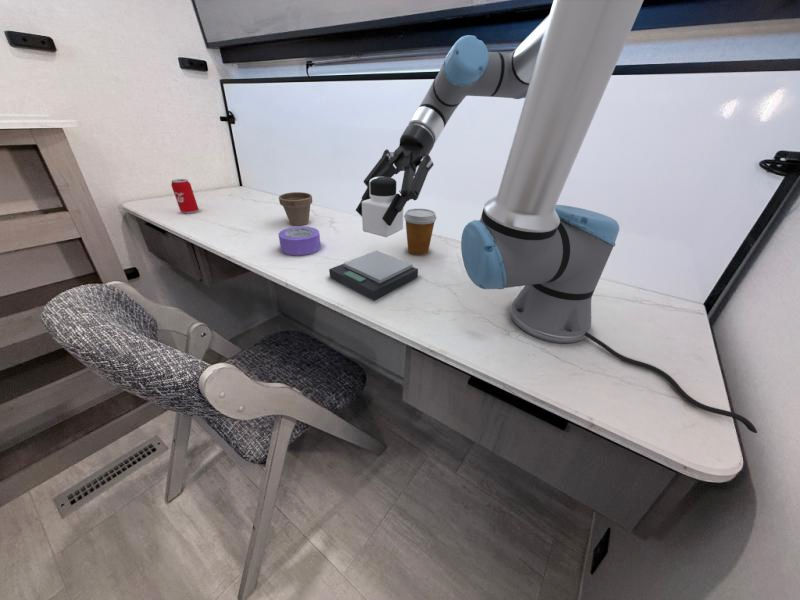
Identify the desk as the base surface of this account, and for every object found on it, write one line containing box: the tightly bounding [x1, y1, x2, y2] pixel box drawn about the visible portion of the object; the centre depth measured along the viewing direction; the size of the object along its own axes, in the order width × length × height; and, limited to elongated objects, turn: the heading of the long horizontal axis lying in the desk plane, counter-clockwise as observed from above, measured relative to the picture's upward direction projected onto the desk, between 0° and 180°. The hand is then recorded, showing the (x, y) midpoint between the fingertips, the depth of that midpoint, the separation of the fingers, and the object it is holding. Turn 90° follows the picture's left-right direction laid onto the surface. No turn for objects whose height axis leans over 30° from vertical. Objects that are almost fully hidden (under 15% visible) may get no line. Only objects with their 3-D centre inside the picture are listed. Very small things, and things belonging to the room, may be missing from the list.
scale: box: [328, 250, 419, 302], centre depth 78 cm, size 16×16×4 cm
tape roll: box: [277, 225, 322, 256], centre depth 93 cm, size 12×12×5 cm
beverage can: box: [170, 178, 199, 214], centre depth 119 cm, size 6×6×12 cm
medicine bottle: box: [361, 177, 405, 238], centre depth 70 cm, size 7×7×12 cm
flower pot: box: [278, 191, 313, 227], centre depth 111 cm, size 12×11×10 cm
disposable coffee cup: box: [403, 208, 438, 256], centre depth 91 cm, size 10×10×12 cm
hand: (372, 217), depth 69 cm, fingers closed on medicine bottle, 8 cm apart
